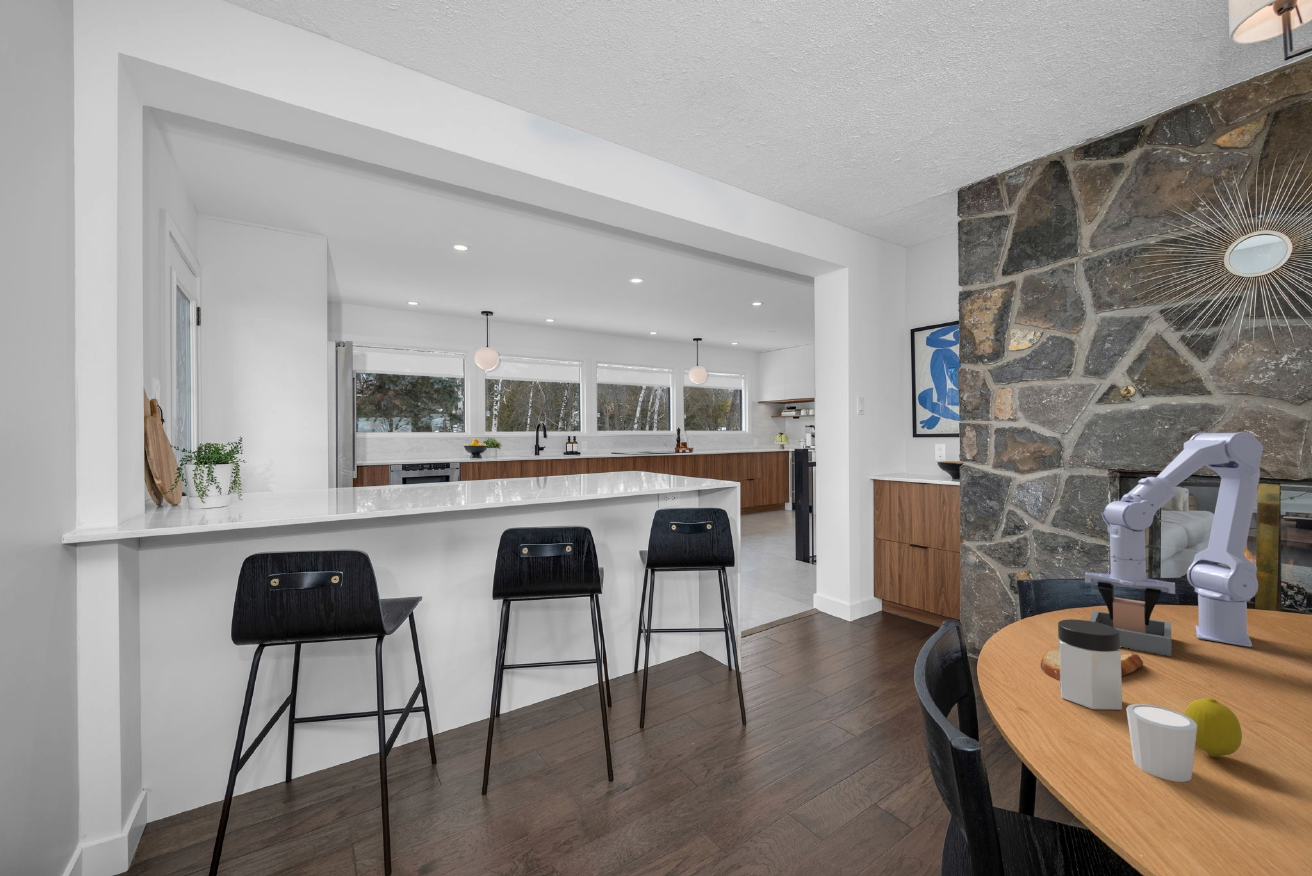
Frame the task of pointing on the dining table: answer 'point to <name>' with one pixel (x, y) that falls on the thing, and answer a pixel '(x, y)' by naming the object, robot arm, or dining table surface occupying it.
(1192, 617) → the dining table surface
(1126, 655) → the bread slice
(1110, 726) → the dining table surface
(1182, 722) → the white cup
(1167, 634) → the bin
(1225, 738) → the lemon
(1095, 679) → the jar
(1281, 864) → the dining table surface
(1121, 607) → the block
